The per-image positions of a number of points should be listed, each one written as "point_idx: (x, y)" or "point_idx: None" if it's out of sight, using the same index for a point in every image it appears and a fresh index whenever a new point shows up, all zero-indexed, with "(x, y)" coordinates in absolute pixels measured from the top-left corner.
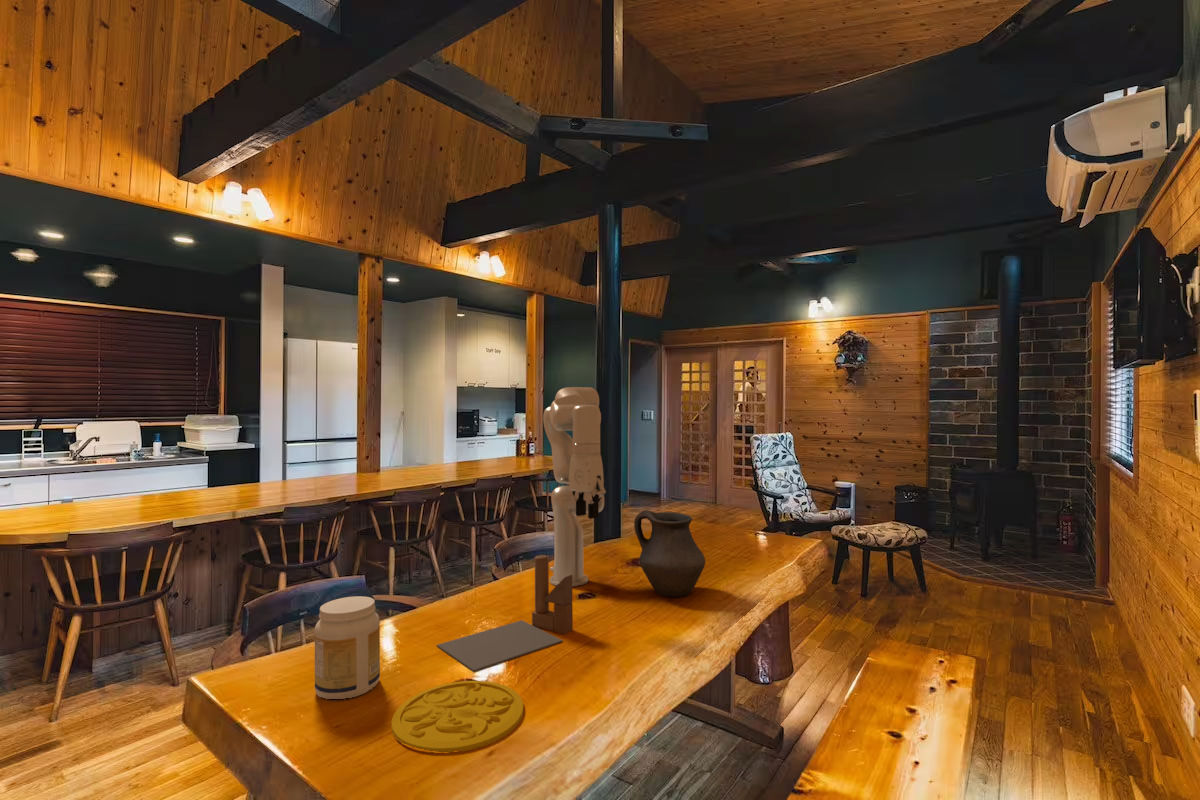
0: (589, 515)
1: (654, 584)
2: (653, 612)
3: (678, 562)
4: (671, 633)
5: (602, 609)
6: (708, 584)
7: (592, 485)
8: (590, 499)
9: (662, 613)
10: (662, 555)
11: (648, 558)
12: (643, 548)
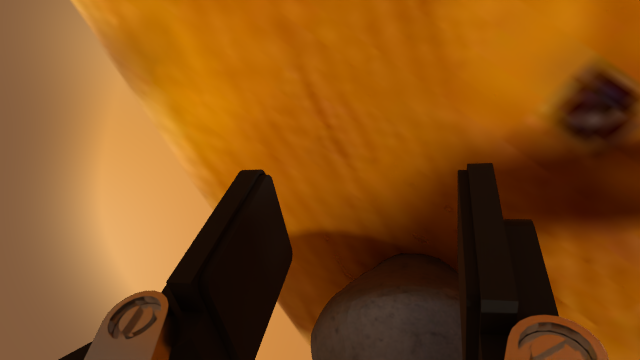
0: (233, 185)
1: (416, 263)
2: (325, 165)
3: (321, 331)
4: (184, 106)
5: (438, 71)
6: None
7: None
8: (127, 347)
9: (307, 176)
10: (361, 335)
11: (410, 313)
12: None
